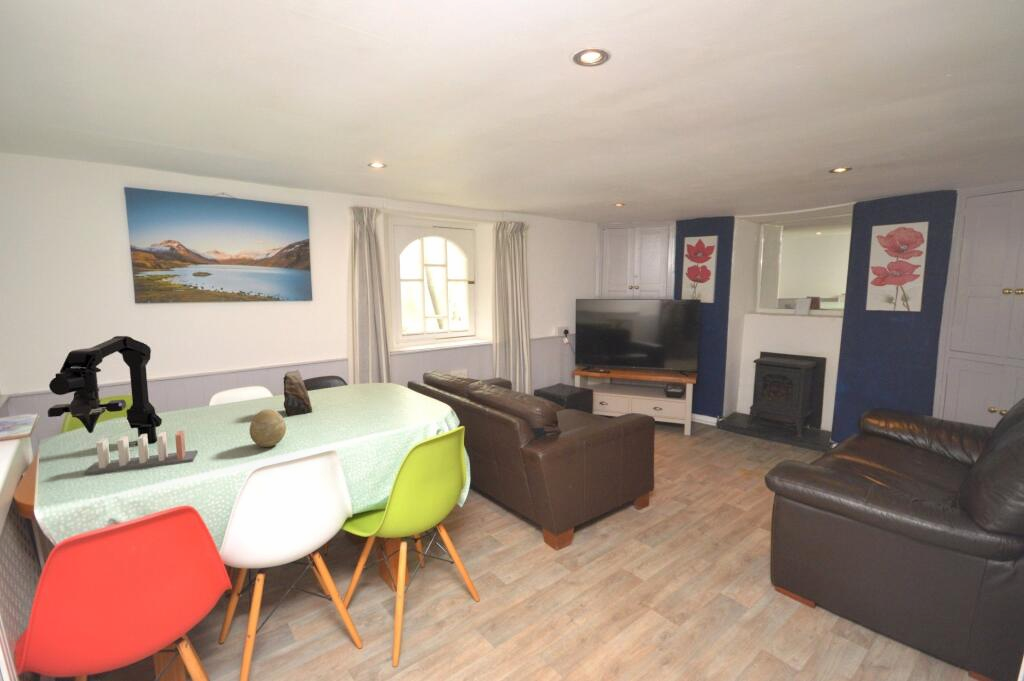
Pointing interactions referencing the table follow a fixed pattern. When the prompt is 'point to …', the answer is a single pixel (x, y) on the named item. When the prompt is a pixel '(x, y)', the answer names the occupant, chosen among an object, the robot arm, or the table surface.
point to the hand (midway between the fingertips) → (90, 432)
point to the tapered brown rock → (295, 395)
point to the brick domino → (180, 444)
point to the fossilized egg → (267, 428)
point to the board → (136, 464)
